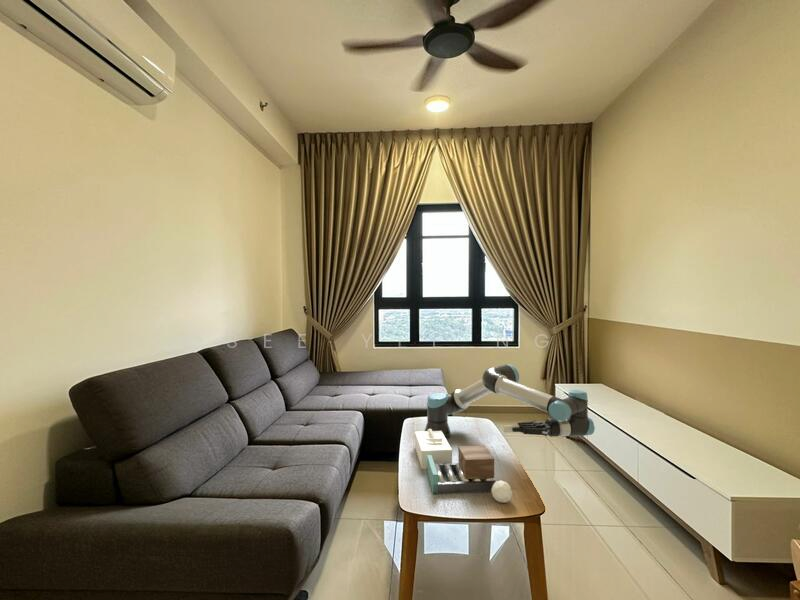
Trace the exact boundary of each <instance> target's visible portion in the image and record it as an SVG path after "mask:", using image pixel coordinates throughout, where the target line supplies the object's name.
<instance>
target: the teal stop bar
mask: <svg viewBox="0 0 800 600" xmlns="http://www.w3.org/2000/svg"><path fill="white" fill-rule="evenodd" d="M427 465H428V466H427V467H428V468H427V469H428V471H427V469H426V474H427V477H428V480H429V483H430V489H431V492H432V494H433V495H439V494H438V491H437V489H436V487H435V486H434V484H435V485H436V486H437V488H438V485H437V484H438V473H437V470H436V467H435V464H434V461H433V458H432V455H427ZM427 472H428V473H427ZM434 487H435V489H433V488H434ZM436 493H437V494H436Z"/></svg>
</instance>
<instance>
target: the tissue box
mask: <svg viewBox="0 0 800 600" xmlns="http://www.w3.org/2000/svg"><path fill="white" fill-rule="evenodd" d="M414 449H415V451H416V455H417V458H418V461H419V464H420V468H421V469H422V470H423V469H424V470H425V469H426V470H427V455H432V458H433V461H434V464H438V463H453V448H452V447H451V445H450V444H449V442H448V439H446V438H445V436H444V434H443V432H442V431H432V429H428V431H425V430H423V431H414Z"/></svg>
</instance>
